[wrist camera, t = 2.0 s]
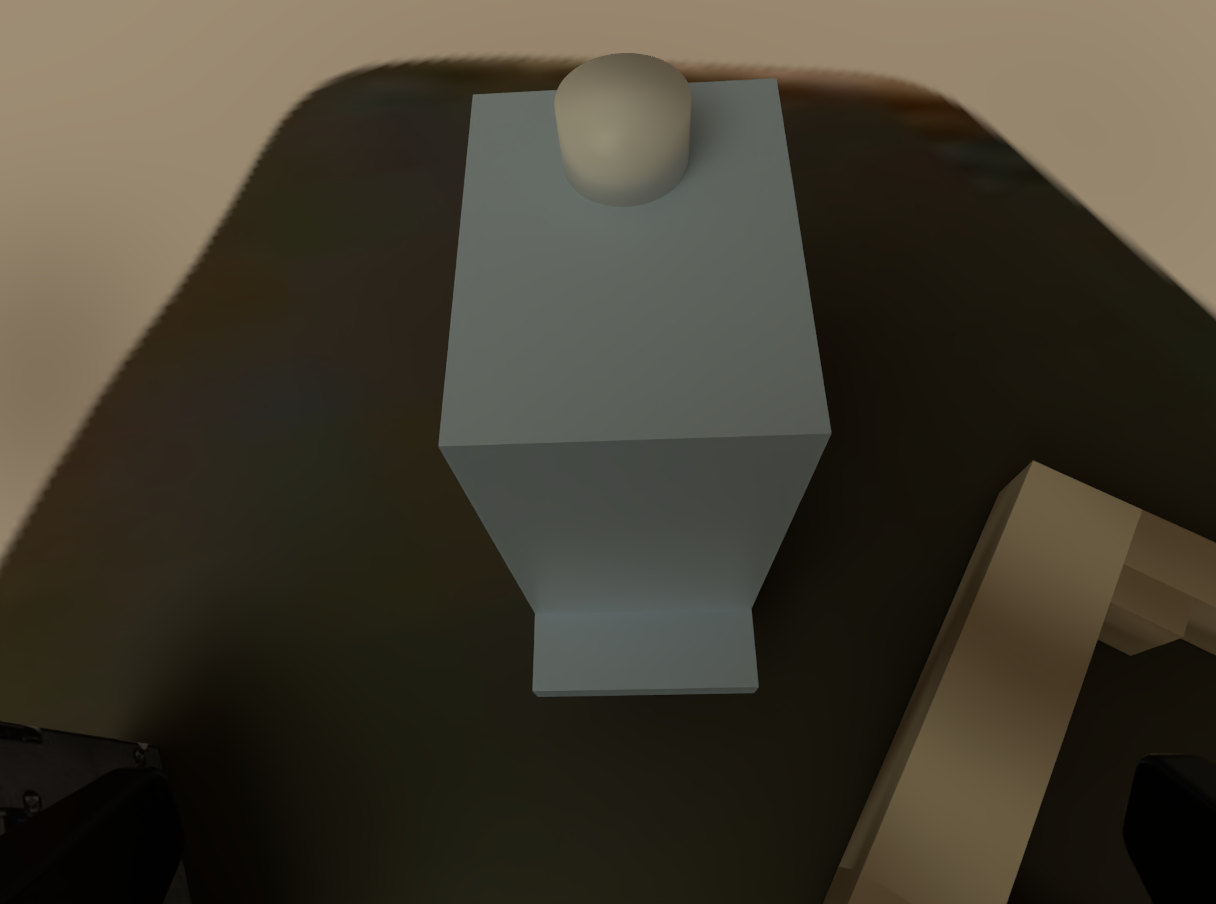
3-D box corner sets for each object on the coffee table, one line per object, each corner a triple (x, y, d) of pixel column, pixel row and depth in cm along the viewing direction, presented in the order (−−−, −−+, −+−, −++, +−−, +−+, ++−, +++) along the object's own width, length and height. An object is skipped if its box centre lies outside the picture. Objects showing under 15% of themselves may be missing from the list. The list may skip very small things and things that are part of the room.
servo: (743, 706, 18) (876, 535, 7) (549, 709, 18) (397, 548, 7) (716, 373, 22) (774, -56, 11) (557, 379, 22) (466, -37, 11)
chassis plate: (1437, 1437, 12) (1570, 1542, 11) (788, 984, 16) (805, 1005, 14) (1519, 736, 17) (1622, 726, 15) (999, 493, 20) (1032, 460, 18)
